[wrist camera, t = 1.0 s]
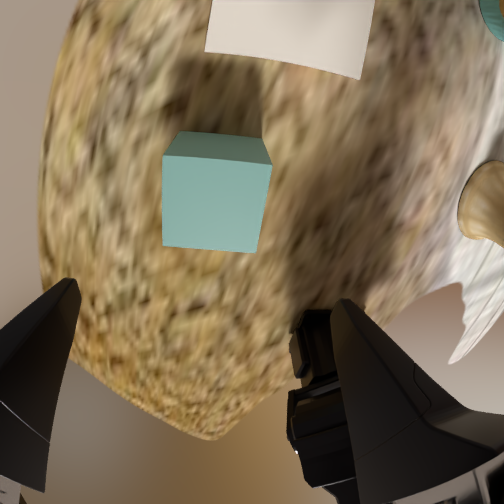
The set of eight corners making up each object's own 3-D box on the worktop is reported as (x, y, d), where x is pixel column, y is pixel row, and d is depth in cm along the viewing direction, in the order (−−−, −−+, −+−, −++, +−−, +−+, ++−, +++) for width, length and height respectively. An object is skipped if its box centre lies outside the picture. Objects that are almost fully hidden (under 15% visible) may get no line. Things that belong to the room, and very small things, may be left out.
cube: (262, 138, 17) (272, 165, 13) (250, 209, 20) (255, 253, 16) (180, 130, 16) (162, 155, 12) (176, 202, 19) (162, 245, 15)
